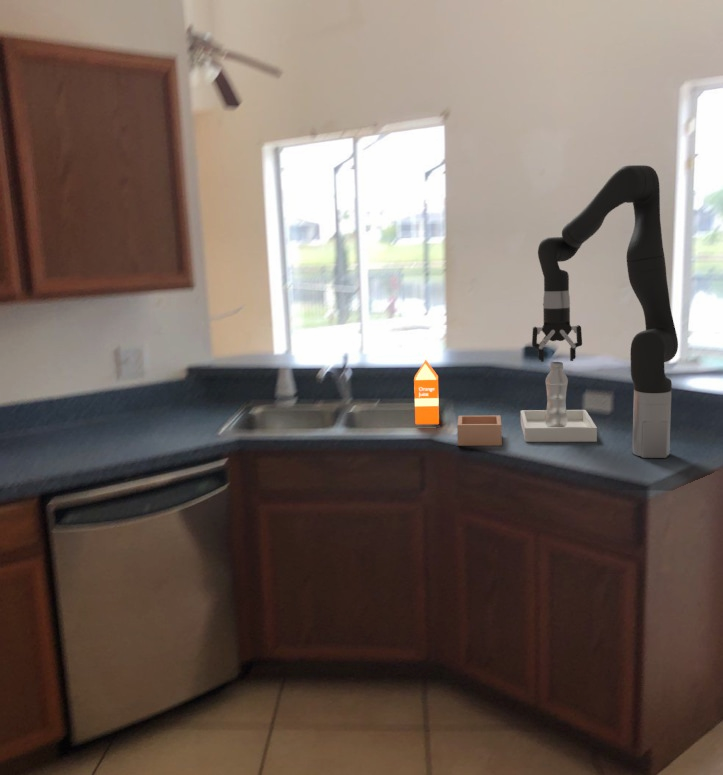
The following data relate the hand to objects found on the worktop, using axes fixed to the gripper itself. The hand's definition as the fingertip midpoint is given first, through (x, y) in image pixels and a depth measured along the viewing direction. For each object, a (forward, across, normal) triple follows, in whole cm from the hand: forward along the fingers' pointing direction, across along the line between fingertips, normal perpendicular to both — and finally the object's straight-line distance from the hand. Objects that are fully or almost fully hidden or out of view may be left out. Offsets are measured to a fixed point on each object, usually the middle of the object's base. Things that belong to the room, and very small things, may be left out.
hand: (556, 361), depth 228 cm
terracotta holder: (+21, -23, -10) cm, 33 cm away
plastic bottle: (+21, 0, 0) cm, 21 cm away
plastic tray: (+22, 0, 0) cm, 22 cm away
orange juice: (+21, -40, +15) cm, 48 cm away
